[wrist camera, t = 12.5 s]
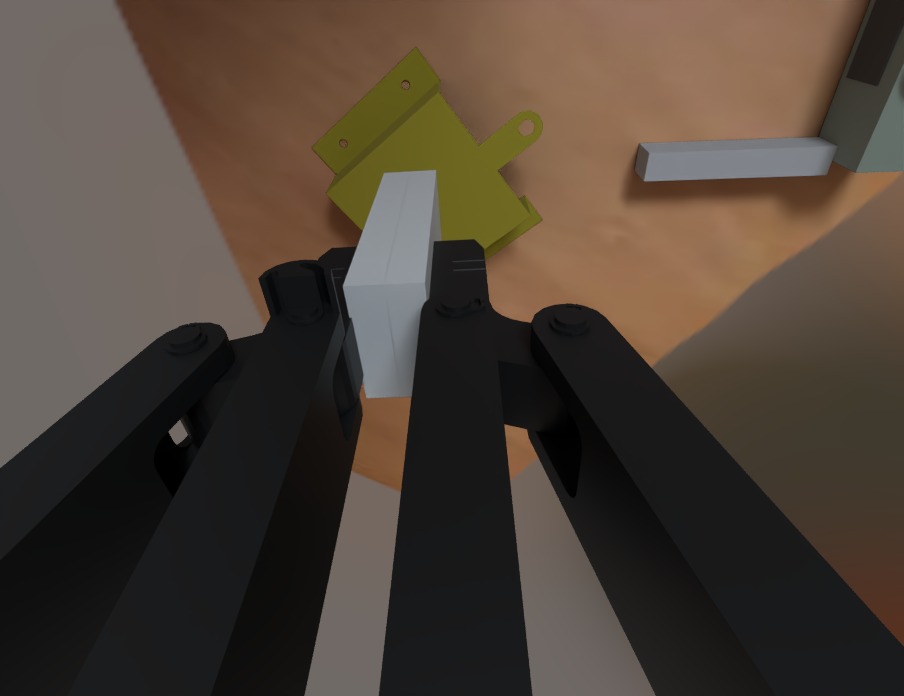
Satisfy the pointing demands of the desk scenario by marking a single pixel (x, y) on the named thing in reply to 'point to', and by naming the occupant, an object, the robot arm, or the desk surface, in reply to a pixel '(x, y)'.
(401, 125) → the bracket
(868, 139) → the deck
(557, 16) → the desk surface
